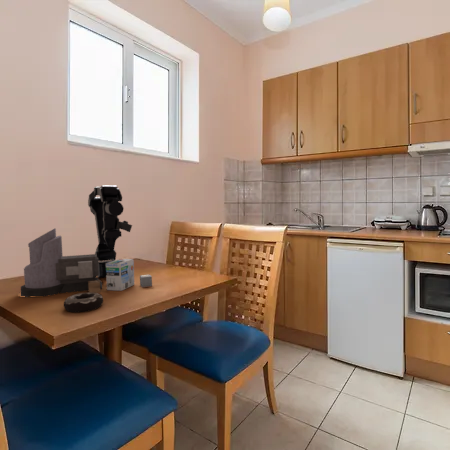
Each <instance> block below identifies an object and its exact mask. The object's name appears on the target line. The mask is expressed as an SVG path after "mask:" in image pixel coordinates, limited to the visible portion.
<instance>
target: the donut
mask: <svg viewBox="0 0 450 450" xmlns="http://www.w3.org/2000/svg"><path fill="white" fill-rule="evenodd" d="M103 303H104V298H103V295H102V294H100V293H93V292H89V291H88V292H80V293H76V294H72V295H70V296H67V298H66V299H64V301H63V307H64V309H65V310H66V311H67V312H70V313H85V312H91V311H95V310H96V309H99V307H102V304H103Z"/></svg>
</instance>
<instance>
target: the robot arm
mask: <svg viewBox="0 0 450 450" xmlns="http://www.w3.org/2000/svg"><path fill="white" fill-rule="evenodd" d="M97 196H98V197H97ZM121 202H123V196H122V193H121V190H120V188H118V185H101V186H94V187H93V191H92V192H91V193H90V194H89V195H88V199H87V205H88V208H89V210H90V212H91V214H93V216H94V220H95V221H94V222H95V226H96V233H97V234H96V235H97V240H98V245H97V246H96V248H95V252H94V254H96V257H98V259H99V276H97V278H98V279H102V278H106V263H108V262H111V261H114V260H117V259H116V258H117V252H116V249H115V247H116V241H117V240H118V239H119V238H120V237H122V231H121V230H123V231H126V232H128V233H131V231H132V227H133V225H132V224H129V222H128V221H127V220H123V221H120V218H119V217H118V216H120V215H122V214H123V212H124V206H123V204H122V203H121Z"/></svg>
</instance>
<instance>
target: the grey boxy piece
mask: <svg viewBox="0 0 450 450" xmlns="http://www.w3.org/2000/svg"><path fill="white" fill-rule="evenodd" d="M62 239H63V238H62V235H57V229H56V228H53V229H51V230H49V231H47V232H46V233H43V234H42V235H39V236H38V237H37V238H35V239H33V240H31V241H30V242H28V244H27V246H28V248H29V249H28V250H29V251H28V252H29V264H27V265H26V266H25V267H24V268H23V276H24V277H23V279H24V284H23V285H21V286H20V292H21V296H25V297H27V298H29V297H28V296H43V297H49V296H48V295H50V296H54V294H55V295H58V293H59V294H67V293H66V292H68V293H74V292H77V291H78V292H85V291H88V292H89V286H88V281H95V280H100V278H98V276H99V259H98V257H96V254H95V253H93V254H92V253H91V254H80V255H79V254H78V255H65V256H63V241H62ZM102 289H103V282H102V280H100V290H102Z"/></svg>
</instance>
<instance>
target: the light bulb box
mask: <svg viewBox="0 0 450 450" xmlns="http://www.w3.org/2000/svg"><path fill="white" fill-rule="evenodd" d="M105 278H106V280H105V281H106V291H118V292H119V291H121V292H122V291H124V290H126V289H128V288H130V287H132V286H135V261H134V258H118V259H116V260H114V261H111V262H108V263H106V277H105Z"/></svg>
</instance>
